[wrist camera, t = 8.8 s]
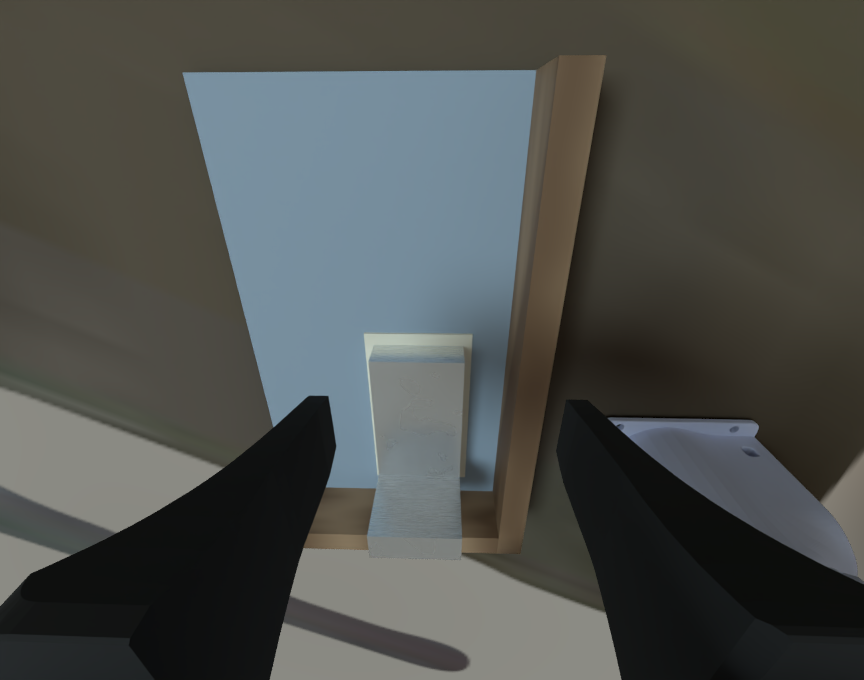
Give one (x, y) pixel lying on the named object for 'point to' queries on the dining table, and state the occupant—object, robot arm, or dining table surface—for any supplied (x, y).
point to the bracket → (417, 451)
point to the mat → (371, 233)
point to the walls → (515, 318)
